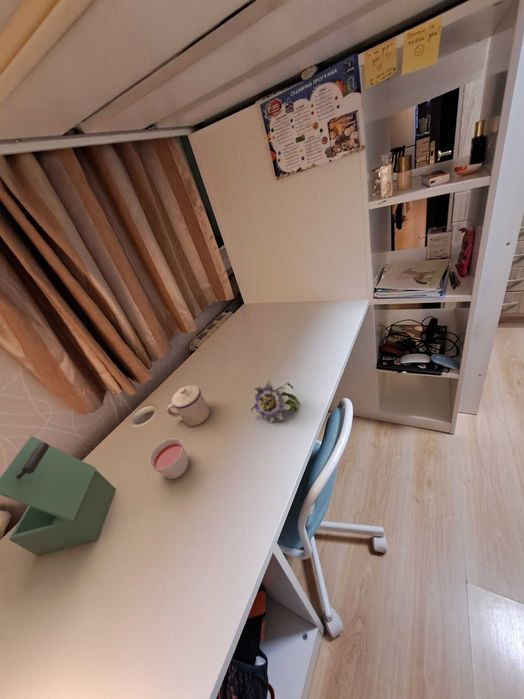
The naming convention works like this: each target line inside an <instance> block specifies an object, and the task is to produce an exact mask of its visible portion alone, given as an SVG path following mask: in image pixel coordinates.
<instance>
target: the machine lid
mask: <svg viewBox="0 0 524 699" xmlns="http://www.w3.org/2000/svg"><path fill="white" fill-rule="evenodd" d="M95 470H97V467H95V466H94V465H91V464H89V463H87V462H85V461H83V460H82V459H79V458H77V457H75V456H73V455H71V454H69V453H67V452H66V451H63V450H61V449H59V448H58V447H55V446H53V445H51V444H49V443H47V442H45V441H43V440H41V439H39V438H37V437H35V436H33V435H30V436H29V438H28V439H26V441H25V442H24V444H23V446H22V447H21V448H20V450H19V451H18V452H17V453H16V454H15V456H14V458H13V459H12V460H11V461H10V463H9V465H8V466H7V467H6V469H5V470H4V472H3V473H2V475H0V496H2V497H4V498H7V499H10V500H13V501H16V502H18V503H20V504H22V505H23V504H24V505H26V506H27V507H28V506H31V507H34V508H36V509H39V510H42V511H44V512H47V513H50V514H52V515H55V516H58V517H60V518H63V519H65V520H68V521H71V522H72V521H74V519H75V517H76V514H77V512H78V510H79V507H80V505H81V503H82V500H83V498H84V496H85V493H86V491H87V489H88V487H89V484H90V482H91V480H92V477H93V475H94V473H95Z"/></svg>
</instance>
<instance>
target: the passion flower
mask: <svg viewBox="0 0 524 699" xmlns="http://www.w3.org/2000/svg"><path fill="white" fill-rule="evenodd" d="M285 386H289V387H290V388H291V389H292V390H293V389H294V386H293V385H292V384H290V383H289V382H285V384H284V385H282V386H279V387H277V388H276V389H275V388H274V386H273V384H272V382H271V381H270V380H268V381H267V382H266V385H265V386H264V387H262V386H257V387H255V388H254V390H255V391H257V393H255V394H254V400H255V403H254V406H252V408H251V409H250V412H251V413H254V414H255V413H258V414H259V415H261V417H262V419H268V420H269V422H270V423H271V424H272V423H273V422H274V421H275V418H277V419H278V420H280V421H282V420H283V419H284V414H283V411H286V410H287V411H288V410H290V409H291V410H292V411H293V412H297V411H299V407H298V405H300V404H301V403H300V402H299V400H298V398H297V397H296V395H294V394H291V393H288V392H287V391H285V390H286V387H285ZM297 404H298V405H297Z"/></svg>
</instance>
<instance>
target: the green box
mask: <svg viewBox="0 0 524 699" xmlns="http://www.w3.org/2000/svg"><path fill="white" fill-rule="evenodd" d="M115 491H116V487H115V486H114V485H113V484H111V482H110V481H109V480H108V479H106V478H105V476H103V475H102V474H101V472H99V471H98V470H97V469H96V470H95V473H94V475H93V477H92V480H91V482H90V484H89V487H88V489H87V491H86V493H85V496H84V498H83V500H82V503H81V505H80V507H79V510H78V512H77V514H76V517H75V519H74V521H72V522H71V521H68V520H65V519H63V518H60V517H58V516H55V515H52V514H50V513H47V512H44V511H42V510H39V509H36V508H34V507H31V506H28V505H27V507H26V508H25V510H24V512H23V513H22V515H21V518H20V519H19V521H18V522H17V524H16V526H15V527H14V529H13V531H12V532H11V535H10V536H9V538H8V540H9V541H11V542H12V543H14V544H15V545H17V546H19V547H21V548H22V549H25V551H28V552H30V553H31V554H32V555H35V556H41V555H44V554H49V553H53V552H56V551H60V550H65V549H68V548H72V547H76V546H80V545H84V544H87V543H91V542H96V541H99V538H100V536H101V532H102V530H103V526H104V524H105V522H106V521H105V520H106V518H107V515H108V512H109V510H110V506H111V504H112V500H113V499H114V498H113V497H114V495H115Z"/></svg>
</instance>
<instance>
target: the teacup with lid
mask: <svg viewBox="0 0 524 699" xmlns="http://www.w3.org/2000/svg"><path fill="white" fill-rule="evenodd" d="M172 408H174V409H175V410H176V412H174V411H172V410H171V409H172ZM166 412H167V414H168V415H169V416H171V417H175V418H177V417H180V418H181V419H182V421H183V423H184V424H185V425H186V426H189V427H195V426H198V425H200V424H202V423H204V422H205V421H206V420H207V419H208V418H209V415H210V412H211V411H210V407H209V406H208V403H207V401H206V399H205V398H204V396H203V394H202V391H201V389H200V388H199V387H198V386H197V385H193V384H192V385H187V386H186V385H185V386H182V387H180V388H179V389H178V390H177V391H176V392H175V393H174V394H173V396H172V398H171V403H170V404H169V405H167V407H166Z"/></svg>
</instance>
